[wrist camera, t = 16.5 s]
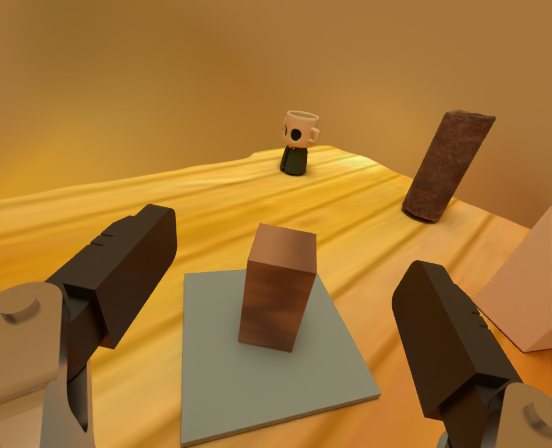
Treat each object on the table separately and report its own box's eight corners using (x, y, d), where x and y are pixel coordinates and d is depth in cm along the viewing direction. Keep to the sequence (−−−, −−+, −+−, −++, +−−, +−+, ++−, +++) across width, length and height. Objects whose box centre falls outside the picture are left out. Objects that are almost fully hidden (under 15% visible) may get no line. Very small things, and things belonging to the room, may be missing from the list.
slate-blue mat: (181, 448, 18) (180, 443, 18) (184, 278, 31) (184, 273, 30) (378, 397, 23) (381, 393, 22) (311, 268, 35) (312, 264, 35)
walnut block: (237, 342, 24) (247, 259, 19) (248, 300, 29) (259, 223, 23) (291, 352, 24) (316, 273, 19) (294, 309, 28) (316, 234, 23)
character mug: (266, 164, 65) (274, 108, 58) (288, 161, 69) (297, 108, 62) (297, 182, 58) (310, 121, 51) (318, 178, 63) (333, 121, 56)
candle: (422, 227, 50) (482, 116, 39) (392, 208, 55) (438, 104, 44) (445, 221, 54) (507, 117, 43) (415, 203, 59) (463, 107, 48)
